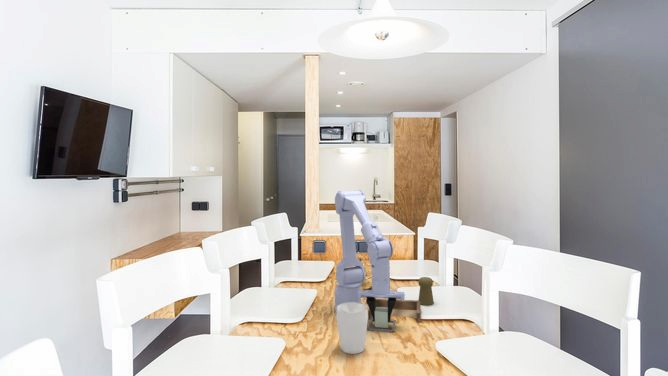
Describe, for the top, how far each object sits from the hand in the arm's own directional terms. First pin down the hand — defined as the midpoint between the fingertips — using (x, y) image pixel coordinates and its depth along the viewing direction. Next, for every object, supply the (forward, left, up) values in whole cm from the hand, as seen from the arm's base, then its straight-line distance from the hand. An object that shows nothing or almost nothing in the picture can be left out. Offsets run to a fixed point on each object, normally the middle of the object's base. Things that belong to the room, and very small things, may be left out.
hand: (381, 320), depth 118 cm
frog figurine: (-13, +43, -4) cm, 45 cm away
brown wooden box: (+4, +11, -3) cm, 12 cm away
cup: (-7, -14, -3) cm, 16 cm away
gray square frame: (0, 0, -3) cm, 3 cm away
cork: (+14, +23, -3) cm, 28 cm away
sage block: (0, 0, -2) cm, 2 cm away
